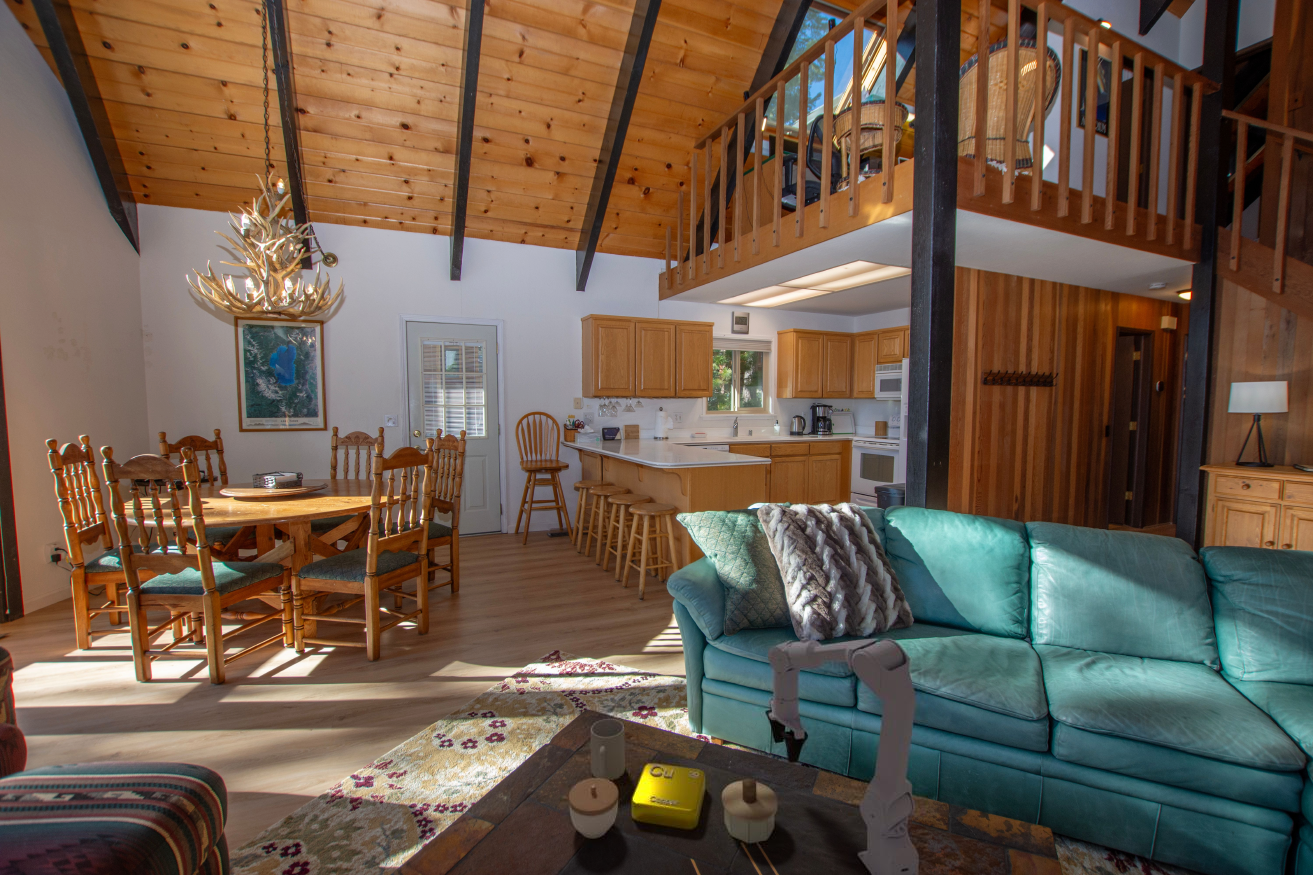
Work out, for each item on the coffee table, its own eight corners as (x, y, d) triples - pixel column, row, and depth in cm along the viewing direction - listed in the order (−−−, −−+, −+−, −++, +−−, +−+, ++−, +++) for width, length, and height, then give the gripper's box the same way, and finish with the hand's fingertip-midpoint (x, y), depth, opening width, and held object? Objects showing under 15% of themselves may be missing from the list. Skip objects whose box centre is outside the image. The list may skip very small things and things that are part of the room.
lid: (787, 816, 118) (787, 797, 118) (733, 826, 115) (733, 806, 115) (764, 779, 130) (763, 761, 129) (714, 788, 127) (714, 770, 127)
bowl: (780, 837, 119) (780, 814, 119) (735, 845, 117) (735, 822, 116) (761, 804, 129) (761, 783, 128) (719, 812, 126) (719, 790, 126)
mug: (595, 758, 146) (594, 717, 146) (627, 760, 145) (627, 719, 145) (584, 789, 135) (583, 745, 134) (619, 791, 134) (618, 747, 133)
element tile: (629, 821, 125) (629, 800, 124) (646, 777, 139) (645, 759, 139) (696, 832, 121) (696, 810, 121) (706, 786, 136) (706, 767, 136)
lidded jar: (611, 850, 116) (610, 806, 116) (562, 842, 118) (561, 799, 118) (624, 813, 127) (623, 773, 126) (579, 807, 129) (578, 767, 128)
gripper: (757, 681, 137) (757, 735, 138) (783, 713, 123) (783, 773, 124) (784, 678, 139) (784, 731, 139) (813, 709, 124) (812, 768, 125)
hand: (785, 751), depth 132 cm, fingers open, 7 cm apart
